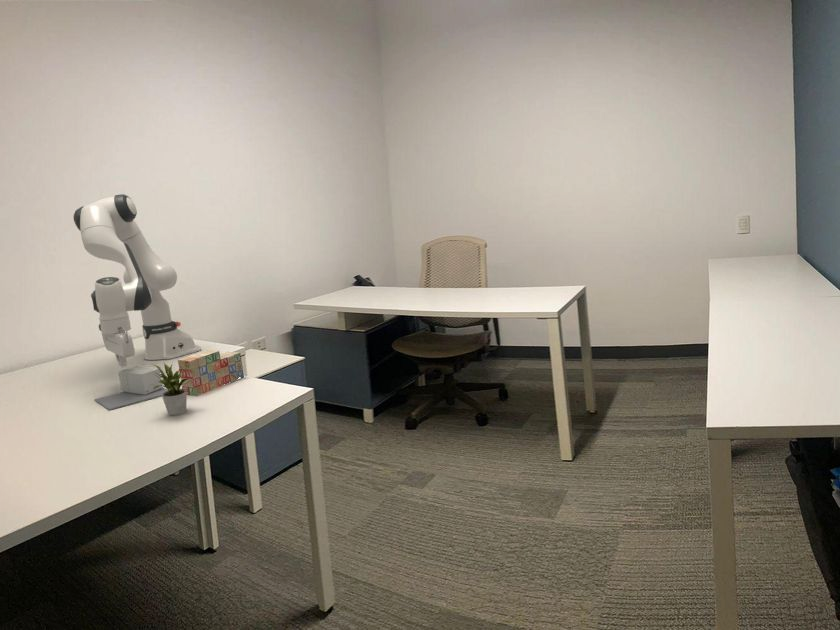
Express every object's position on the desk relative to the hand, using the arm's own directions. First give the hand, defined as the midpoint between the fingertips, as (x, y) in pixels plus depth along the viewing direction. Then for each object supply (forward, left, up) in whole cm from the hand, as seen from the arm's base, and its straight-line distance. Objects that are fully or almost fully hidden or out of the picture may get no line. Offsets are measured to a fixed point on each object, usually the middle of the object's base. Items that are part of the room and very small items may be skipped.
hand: (122, 366), depth 209 cm
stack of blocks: (-23, +18, -10) cm, 31 cm away
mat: (0, +6, -10) cm, 12 cm away
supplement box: (-2, -4, -5) cm, 7 cm away
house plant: (-2, +34, -10) cm, 36 cm away
